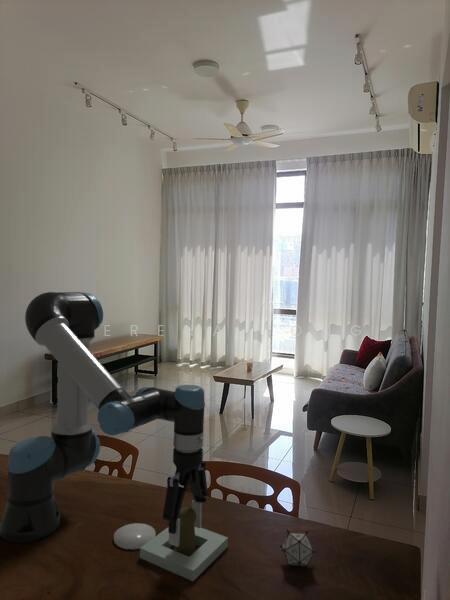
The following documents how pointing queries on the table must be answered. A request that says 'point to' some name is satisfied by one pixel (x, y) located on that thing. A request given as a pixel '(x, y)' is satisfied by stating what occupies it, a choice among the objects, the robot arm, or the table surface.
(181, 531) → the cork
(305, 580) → the table surface
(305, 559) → the game die
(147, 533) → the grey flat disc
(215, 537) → the frame
